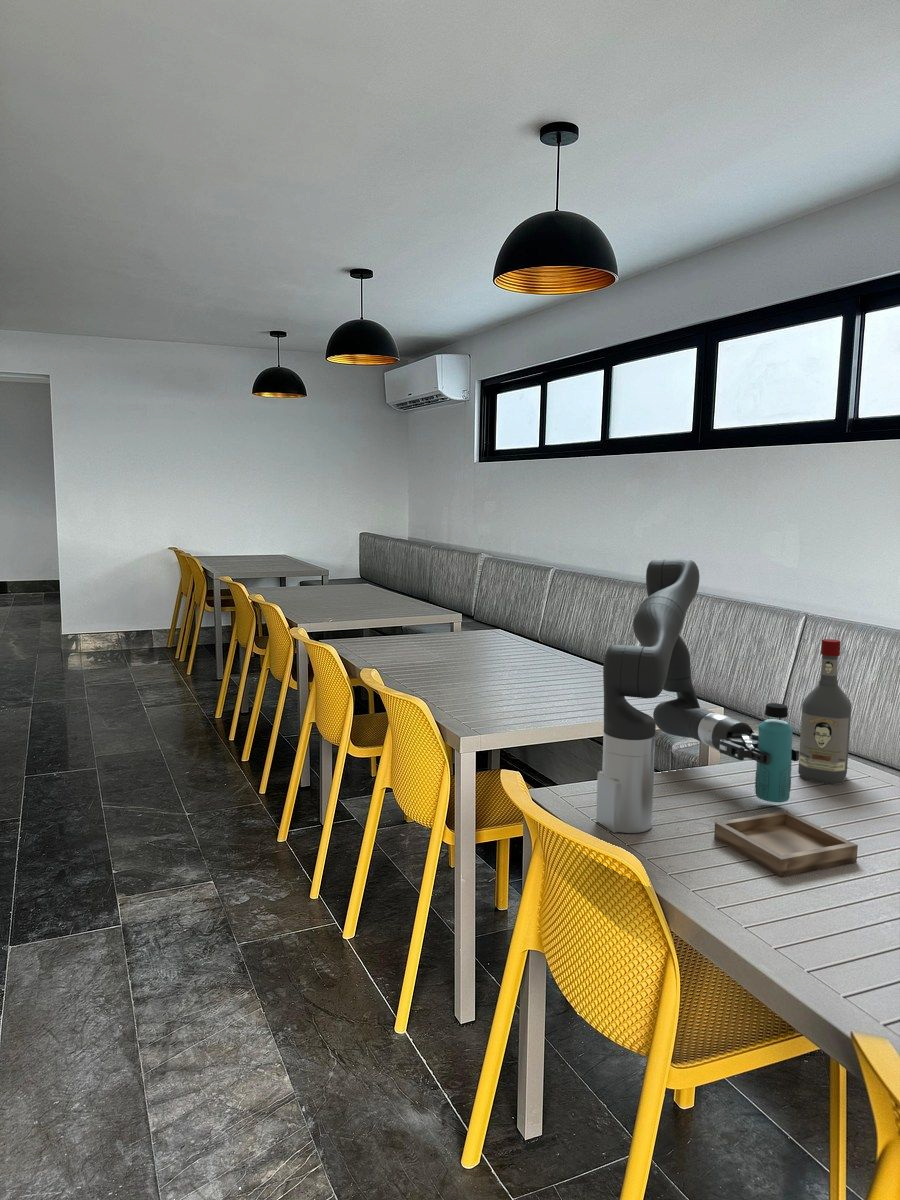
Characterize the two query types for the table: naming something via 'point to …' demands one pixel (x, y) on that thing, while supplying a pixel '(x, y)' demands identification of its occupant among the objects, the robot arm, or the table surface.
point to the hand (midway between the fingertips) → (783, 757)
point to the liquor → (825, 724)
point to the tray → (785, 843)
